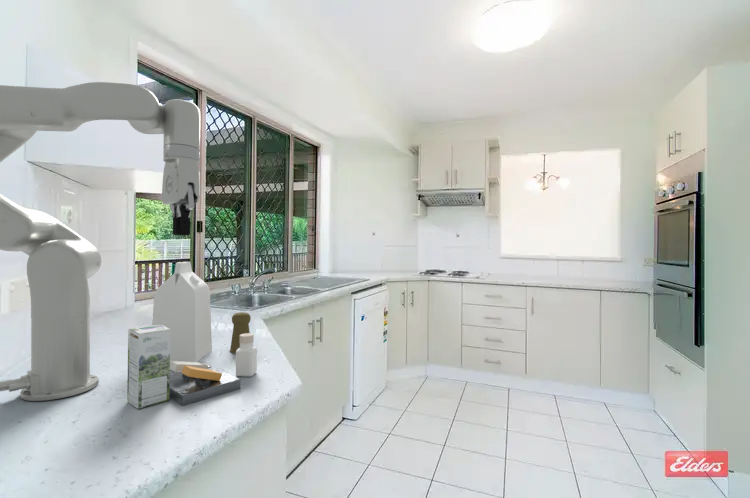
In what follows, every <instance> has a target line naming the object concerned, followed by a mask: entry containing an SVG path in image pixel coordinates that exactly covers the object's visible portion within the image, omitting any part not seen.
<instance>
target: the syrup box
mask: <svg viewBox="0 0 750 498" xmlns="http://www.w3.org/2000/svg"><path fill="white" fill-rule="evenodd" d="M127 334H128V335H127V384H126V385H127V386H126V387H127V389H126V391H127V392H126V393H127V394H126V395H127V396H126V398H127V400H126V401H127V402H128V403H129V404H130V405H131V406H133V407H135V408H136V409H137V410H140V409H143V408H144V409H145V408H147V407H151V406H154V405H158V404H161V403H164V402H168V401H170V397H169V392H170V375H171V369H170V341H171V330H170V329H169V328H167V327H165V326H163V325H154V326H152V325H149V326H140V327H134V328H129V329H128V330H127Z"/></svg>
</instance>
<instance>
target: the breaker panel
mask: <svg viewBox="0 0 750 498" xmlns="http://www.w3.org/2000/svg"><path fill="white" fill-rule="evenodd" d="M208 369H209V370H215V371H217V372H220V373H222V376H221V379H220V381H216V380H209V379H202V378H195V377H188V376H186V375H185V374H183V373H182V372H176V373H170V392H169V399H172V400H173V401H174V402H176V403H178V404H179V405H180V406H182V407H184V406H187V405H190V404H193V403H197V402H201V401H203V400H206V399H210V398H213V397H216V396H220V395H224V394H226V393H230V392H232V391H236V390H239V389H241V388H242V386H241V378H239V377H238V376H236V375H232V374H231V373H228V372H226V371H224V370H221V369H219V368H217V367H214V366H213V365H211V364H209V365H208Z"/></svg>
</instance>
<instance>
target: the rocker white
mask: <svg viewBox="0 0 750 498" xmlns="http://www.w3.org/2000/svg"><path fill="white" fill-rule="evenodd" d="M184 365H185V366H191V367H197V368H203V369H208V366H209V365H208V364H206V363H204V362H200V361H198V362H181V361H171V362H170V371H173V372H176V373H179V372H182V370H183V368H184Z"/></svg>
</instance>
